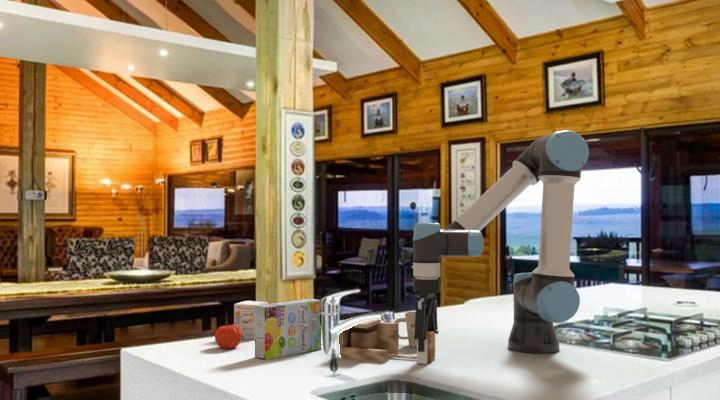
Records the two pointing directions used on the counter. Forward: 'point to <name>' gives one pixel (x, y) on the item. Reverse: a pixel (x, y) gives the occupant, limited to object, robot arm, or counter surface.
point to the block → (370, 341)
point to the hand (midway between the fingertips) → (426, 360)
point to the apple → (228, 336)
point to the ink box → (246, 318)
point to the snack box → (287, 328)
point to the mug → (409, 328)
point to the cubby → (386, 341)
